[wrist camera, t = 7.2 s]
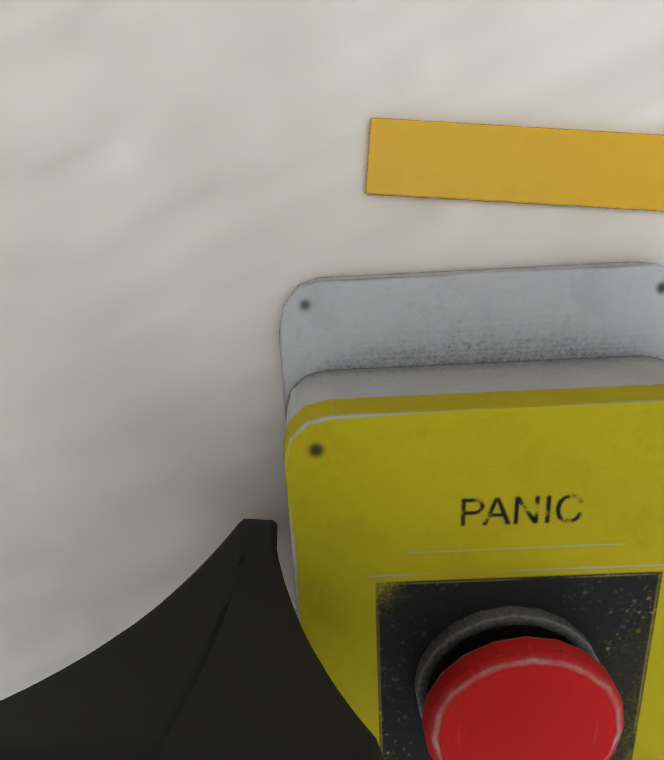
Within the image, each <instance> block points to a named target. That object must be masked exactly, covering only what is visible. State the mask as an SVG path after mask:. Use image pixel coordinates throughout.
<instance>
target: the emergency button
mask: <svg viewBox="0 0 664 760" xmlns="http://www.w3.org/2000/svg"><path fill="white" fill-rule="evenodd" d="M279 339H280V351H281V364H282V376H283V389H284V401H285V414H286V434H285V438H284V462H285V474H286V486H287V498H288V510H289V521H290V533H291V545H292V557H293V569H294V581H295V593H296V605H297V617H298V620H299V622H300V624H301V626H302V628H303V631H304V633H305V635H306V637H307V639H308V640H309V642H310V644H311V646H312V648H313V650H314V652H315V654H316V655H317V657H318V658H319V660H320V662H321V663H322V665H323V667H324V668H325V670H326V672H327V673H328V675H329V676H330V678H331V680H332V681H333V683H334V684H335V686H336V687H337V689H338V690H339V691H340V693H341V694H342V696H343V697H344V698H345V700H346V701H347V703H348V704H349V705H350V707H351V708H352V709H353V711H354V712H355V713H356V714H357V716H358V717H359V718H360V719H361V721H362V722H363V723H364V724H365V725H366V727H367V728H368V729H369V730H370V731H371V733H372V734H373V735H374V736H375V737H376V739H377V741H378V744H379V747H380V749H381V752H382V755H383V757H384V760H664V266H661V265H657V264H651V263H643V262H625V263H605V264H586V265H566V266H546V267H526V268H506V269H486V270H466V271H446V272H426V273H406V274H386V275H366V276H346V277H326V278H317V279H314V280H311V281H309V282H306V283H303V284H301V285H298V287H297V288H296V289H295V291H294V292H293V293H292V295H291V296H290V297H289V299H288V300H287V301H286V303H285V304H284V306H283V309H282V316H281V322H280V329H279Z"/></svg>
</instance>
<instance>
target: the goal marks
mask: <svg viewBox="0 0 664 760" xmlns="http://www.w3.org/2000/svg"><path fill="white" fill-rule="evenodd" d="M366 194H372V195H390V196H407V197H424V198H442V199H459V200H476V201H494V202H511V203H528V204H546V205H563V206H580V207H598V208H615V209H633V210H650V211H664V135H655V134H639V133H622V132H605V131H588V130H571V129H555V128H538V127H521V126H504V125H488V124H471V123H454V122H437V121H420V120H404V119H387V118H371V121H370V135H369V150H368V165H367V179H366Z"/></svg>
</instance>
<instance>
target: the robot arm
mask: <svg viewBox="0 0 664 760" xmlns="http://www.w3.org/2000/svg"><path fill="white" fill-rule="evenodd" d="M0 760H384V757H383V755H382V752H381V749H380V747H379V744H378V741H377V739H376V737H375V736H374V735H373V734H372V733H371V731H370V730H369V729H368V728H367V727H366V725H365V724H364V723H363V722H362V721H361V719H360V718H359V717H358V716H357V714H356V713H355V712H354V711H353V709H352V708H351V707H350V705H349V704H348V703H347V701H346V700H345V698H344V697H343V696H342V694H341V693H340V691H339V690H338V689H337V687H336V686H335V684H334V683H333V681H332V680H331V678H330V676H329V675H328V673H327V672H326V670H325V668H324V667H323V665H322V663H321V662H320V660H319V658H318V657H317V655H316V654H315V652H314V650H313V648H312V646H311V644H310V642H309V640H308V639H307V637H306V635H305V633H304V631H303V628H302V626H301V624H300V622H299V620H298V617H297V615H296V613H295V610H294V608H293V605H292V602H291V600H290V597H289V594H288V591H287V588H286V585H285V582H284V578H283V574H282V571H281V567H280V563H279V558H278V552H277V524H276V523H275V522H274V521H273V520H260V519H243V520H242V521H241V522H240V523H239V524H238V525H237V526H236V527H235V529H234V530H233V531H232V532H231V533H230V535H229V536H228V537H227V538H226V539H225V540H224V542H223V543H222V544H221V545H220V546H219V547H218V548H217V549H216V551H215V552H214V553H213V554H212V555H211V556H210V557H209V558H208V559H207V560H206V561H205V562H204V563H203V564H202V565H201V566H200V567H199V568H198V569H197V570H196V571H195V572H194V573H193V574H192V575H191V576H190V577H189V578H188V579H187V580H186V581H185V582H184V583H183V584H182V585H181V586H180V587H178V588H177V589H176V590H175V591H174V592H173V593H172V594H171V595H170V596H169V597H167V598H166V599H165V600H164V601H163V602H162V603H160V604H159V605H158V606H157V607H156V608H154V609H153V610H152V611H151V612H149V613H148V614H147V615H145V616H144V617H143V618H142V619H140V620H139V621H138V622H136V623H135V624H134V625H132V626H131V627H129V628H128V629H126V630H125V631H123V632H122V633H120V634H119V635H117V636H116V637H114V638H113V639H111V640H110V641H108V642H107V643H105V644H104V645H102V646H101V647H99V648H98V649H96V650H95V651H93V652H91V653H90V654H88V655H86V656H85V657H83V658H81V659H80V660H78V661H76V662H75V663H73V664H71V665H69V666H68V667H66V668H64V669H62V670H60V671H59V672H57V673H55V674H53V675H51V676H49V677H48V678H46V679H44V680H42V681H40V682H38V683H36V684H34V685H32V686H30V687H29V688H27V689H25V690H22V691H20V692H18V693H16V694H14V695H12V696H10V697H8V698H6V699H3V700H1V701H0Z"/></svg>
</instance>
